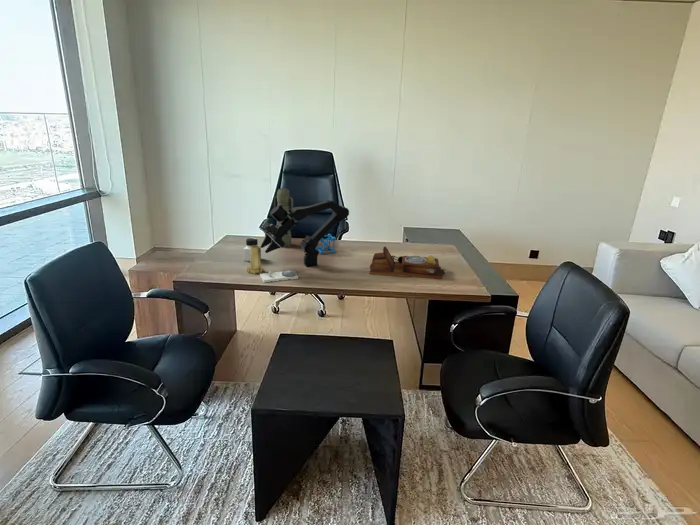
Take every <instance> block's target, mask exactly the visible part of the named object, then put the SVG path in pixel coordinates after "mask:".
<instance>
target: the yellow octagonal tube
mask: <svg viewBox="0 0 700 525" xmlns="http://www.w3.org/2000/svg"><path fill="white" fill-rule="evenodd" d="M249 262H250V264H249V266H248V267H247V268H246V271H247V274H252V275H255V274H262V273H263V272H262V271H264V272H265V267H264V266H263V265H262V264H261V262H262V261H261V258H260V252H259V245H258V246H256V245H255V246H251V253H250V261H249Z"/></svg>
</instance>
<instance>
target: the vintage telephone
mask: <svg viewBox="0 0 700 525" xmlns="http://www.w3.org/2000/svg"><path fill="white" fill-rule="evenodd" d="M382 251H383V252H376V253H374V254H373V257H372V260H371V264H370V265H369V271H368V272H369V275H375V276H376V275H377V276H385V277H397V278H410V277H411V278H412V277H416V278H426V279H434V280H435V279H438V280H442V279H443V276H445V275H446V274H445V273H446V272H445V270H444V269H442V267H441V266H440V264H439V259H438V258H437V257H436V258H435V257H434V256H432V255H428V256H426V257H425V256H419V255H402V256H401V255H400V256H396V255H392V254H391V253H390V251H389V249H388V248H387V247H386V246H384V247H383V249H382ZM396 258H397V259H396Z"/></svg>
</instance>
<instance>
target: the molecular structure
mask: <svg viewBox="0 0 700 525" xmlns="http://www.w3.org/2000/svg"><path fill="white" fill-rule="evenodd" d="M324 237H327V238H324ZM324 237H323V238H322V239H321V240H320V241H319V242H320V246H319V244H318V245H317V247H316V250H317V251H318V252H319V254H320V255H323V254H324V253H326V254H327V253H332V254H335V253H336V249H335V242H336V240H337V237H336V236H332V234H331V233H327V234H326V235H325V236H324ZM331 242H332V246H331ZM324 249H325V250H326V249H327V250H326V251H325V250H324Z"/></svg>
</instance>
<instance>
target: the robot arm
mask: <svg viewBox="0 0 700 525" xmlns="http://www.w3.org/2000/svg"><path fill="white" fill-rule="evenodd" d="M329 209H330V210H332V213H331V215H330V217H329V218H328V219H327V220H326V221H325V222H324V223H323V224H322V225H321V226H320V227H319V228H318V229H317V230H316V231H315V232H314V233H313V234H312V235H311V236H309V235H306V236H305V237H304V238H303V239H301V242H300V248H301V249H302V250H303V252H304V256H303V265H304V266H305V267H306V268H310V267H311V268H312V267H319V264H318V256H319V254H320V253H319V252H320V251H317V250H316V247H317V245H318V246H319V242H321V241H320V240H321V239H322V238H323V239H324V236H325V235H328V234H329V232H330V230H331V229H333V228H334V227H335V225H337V223H340V222H343V221H344V220H345V219H346V218H348V217H349V215H350V210H349V209H348V207H346V206H343V205H339V204H337V203H335V202H334V201H333V200H331V199H326V200H324V201H321V202H318V203H314V204H312V205H306V206H295V207H294V206H293V208H292V210H286V211H285V210H284V209H283V207H282V206H281V205H278V206H277V205H276V207H275V208H274V207H273V208H272V209H271V210H270V212H269V214H270V216H271V217H272V218H273V219H275V221H276V222H277V221H278V222H280V221H281V223H280V224H279V225H277V224H276V225H275V224H273V223H269V222H266V221H265V223H264V224H263V225H264V226H263V229H264V239H263V241H262V243H261V245H260V247H261V249H264V248H265V247H266V246H268V247H267V248H266V249H265V250H264V253H266V254H268V253H271V252H273V251H275V250H278V249H281V248H285V247H284V245H285V242H284V241H283V239H282V238H283V237H284V236H285V235H287V234H288V233H287V232H288V231H289V230H290V231H291V229H292V228H293V227H294V226H295V227H296V228H299V221H302V220H304V219H306V218H307V217H308V216H310V215H312V214H317V213H319V212H323V211H327V210H329ZM287 215H288V216H290V217H291V218H289V217H287ZM325 237H326V236H325ZM280 246H281V247H280Z"/></svg>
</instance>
